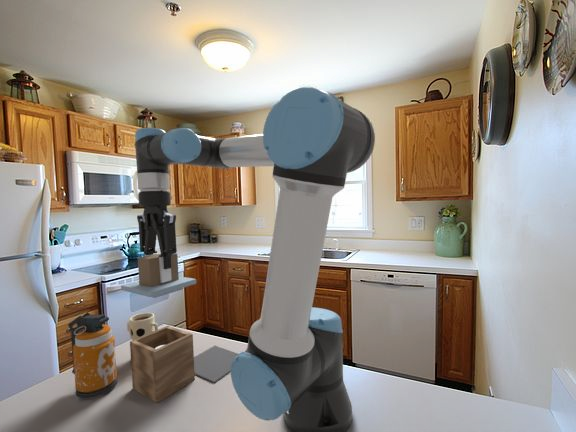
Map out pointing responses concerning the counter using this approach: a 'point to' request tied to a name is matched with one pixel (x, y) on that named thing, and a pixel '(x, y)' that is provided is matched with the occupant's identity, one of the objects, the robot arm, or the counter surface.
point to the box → (162, 362)
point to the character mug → (141, 325)
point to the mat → (214, 363)
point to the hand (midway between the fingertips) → (159, 279)
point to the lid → (156, 278)
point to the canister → (93, 356)
